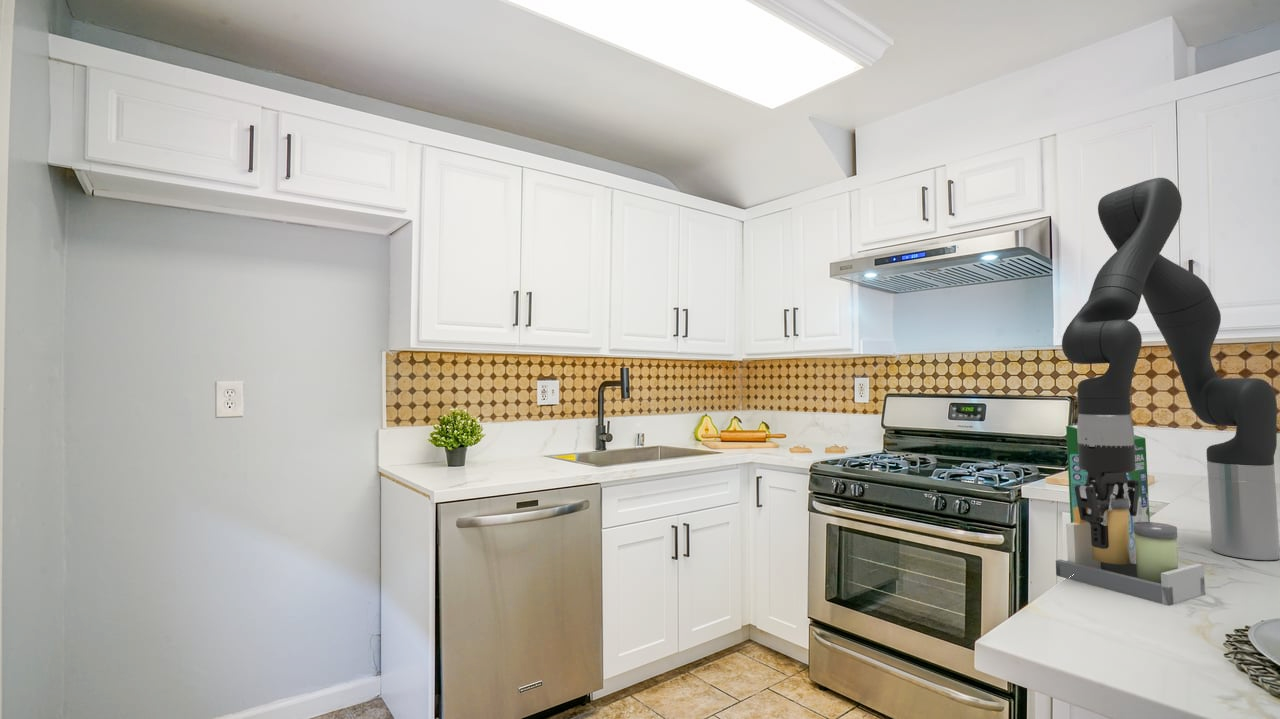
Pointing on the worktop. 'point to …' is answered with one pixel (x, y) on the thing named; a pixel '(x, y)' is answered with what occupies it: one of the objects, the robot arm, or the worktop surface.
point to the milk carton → (1140, 474)
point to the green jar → (1155, 550)
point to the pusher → (1080, 542)
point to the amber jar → (1116, 534)
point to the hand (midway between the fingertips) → (1110, 545)
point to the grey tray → (1139, 580)
